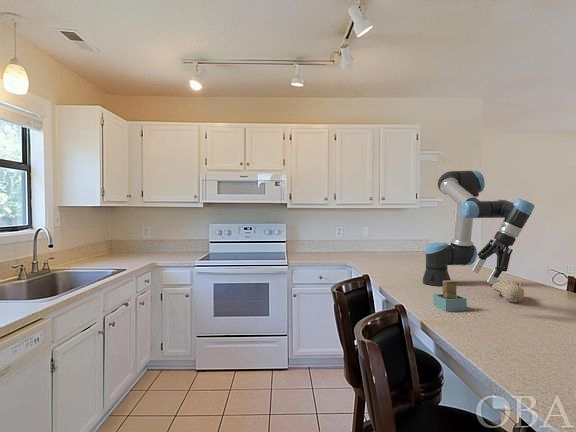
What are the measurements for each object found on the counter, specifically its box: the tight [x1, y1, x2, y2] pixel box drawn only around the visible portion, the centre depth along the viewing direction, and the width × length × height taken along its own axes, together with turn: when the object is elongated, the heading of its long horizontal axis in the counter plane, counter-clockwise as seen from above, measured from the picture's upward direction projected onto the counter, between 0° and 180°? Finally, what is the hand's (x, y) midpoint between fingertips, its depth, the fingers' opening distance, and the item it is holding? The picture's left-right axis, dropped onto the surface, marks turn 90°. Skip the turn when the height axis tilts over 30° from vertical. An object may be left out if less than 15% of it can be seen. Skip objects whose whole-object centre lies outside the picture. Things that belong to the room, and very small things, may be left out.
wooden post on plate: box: [442, 279, 457, 299], centre depth 155 cm, size 4×4×11 cm
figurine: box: [488, 279, 525, 304], centre depth 173 cm, size 12×9×30 cm
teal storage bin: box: [432, 293, 468, 312], centre depth 155 cm, size 10×10×5 cm
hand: (482, 277), depth 154 cm, fingers open, 13 cm apart
